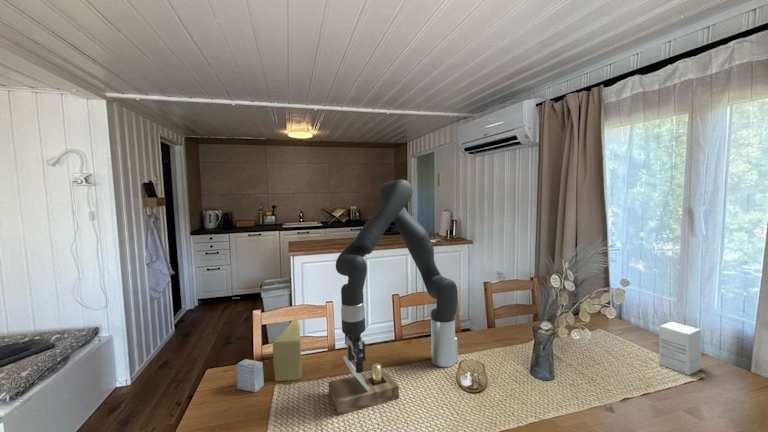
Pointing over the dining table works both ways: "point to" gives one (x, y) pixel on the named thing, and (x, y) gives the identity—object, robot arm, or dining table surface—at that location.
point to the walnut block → (361, 392)
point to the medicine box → (249, 375)
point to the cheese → (288, 354)
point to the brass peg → (376, 374)
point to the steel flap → (356, 373)
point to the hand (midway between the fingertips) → (355, 365)
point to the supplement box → (680, 347)
